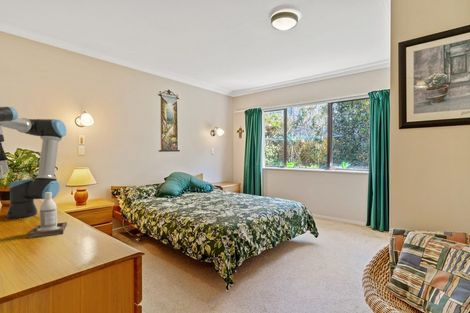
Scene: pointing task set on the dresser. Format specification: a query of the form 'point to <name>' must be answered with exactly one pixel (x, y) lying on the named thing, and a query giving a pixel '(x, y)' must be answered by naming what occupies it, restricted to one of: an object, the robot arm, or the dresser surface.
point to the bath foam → (48, 213)
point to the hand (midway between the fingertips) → (3, 175)
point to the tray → (38, 233)
